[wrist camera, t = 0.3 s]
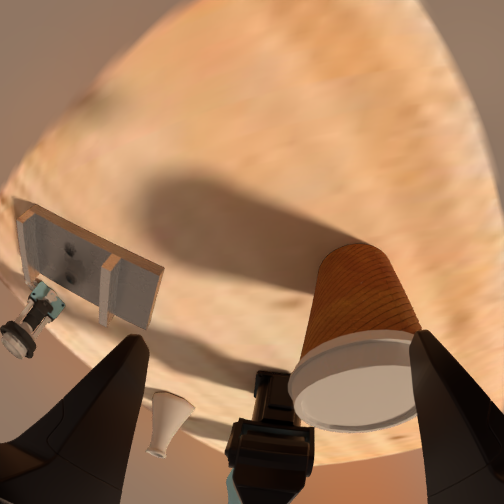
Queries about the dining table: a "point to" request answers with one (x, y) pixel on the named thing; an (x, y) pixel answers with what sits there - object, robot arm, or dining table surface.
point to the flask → (166, 420)
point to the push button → (31, 320)
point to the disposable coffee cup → (356, 346)
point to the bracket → (88, 266)
